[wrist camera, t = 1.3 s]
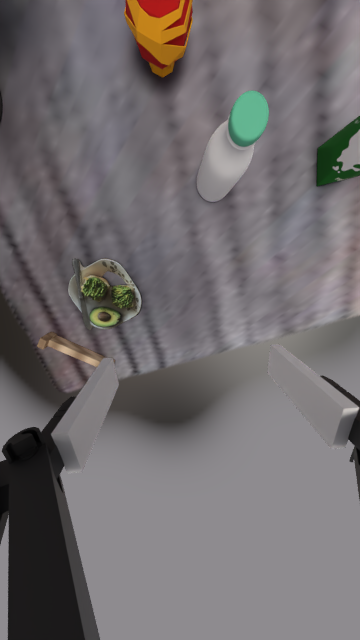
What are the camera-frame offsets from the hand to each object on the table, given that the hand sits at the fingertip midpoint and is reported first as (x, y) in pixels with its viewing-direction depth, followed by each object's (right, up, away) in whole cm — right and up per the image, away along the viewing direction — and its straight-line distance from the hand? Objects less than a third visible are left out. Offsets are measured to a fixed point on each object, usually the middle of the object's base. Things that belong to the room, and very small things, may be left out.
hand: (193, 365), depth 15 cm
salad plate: (-21, +10, +33) cm, 40 cm away
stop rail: (-30, -5, +37) cm, 48 cm away
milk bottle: (+6, +35, +25) cm, 43 cm away
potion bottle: (-4, +53, +18) cm, 56 cm away
